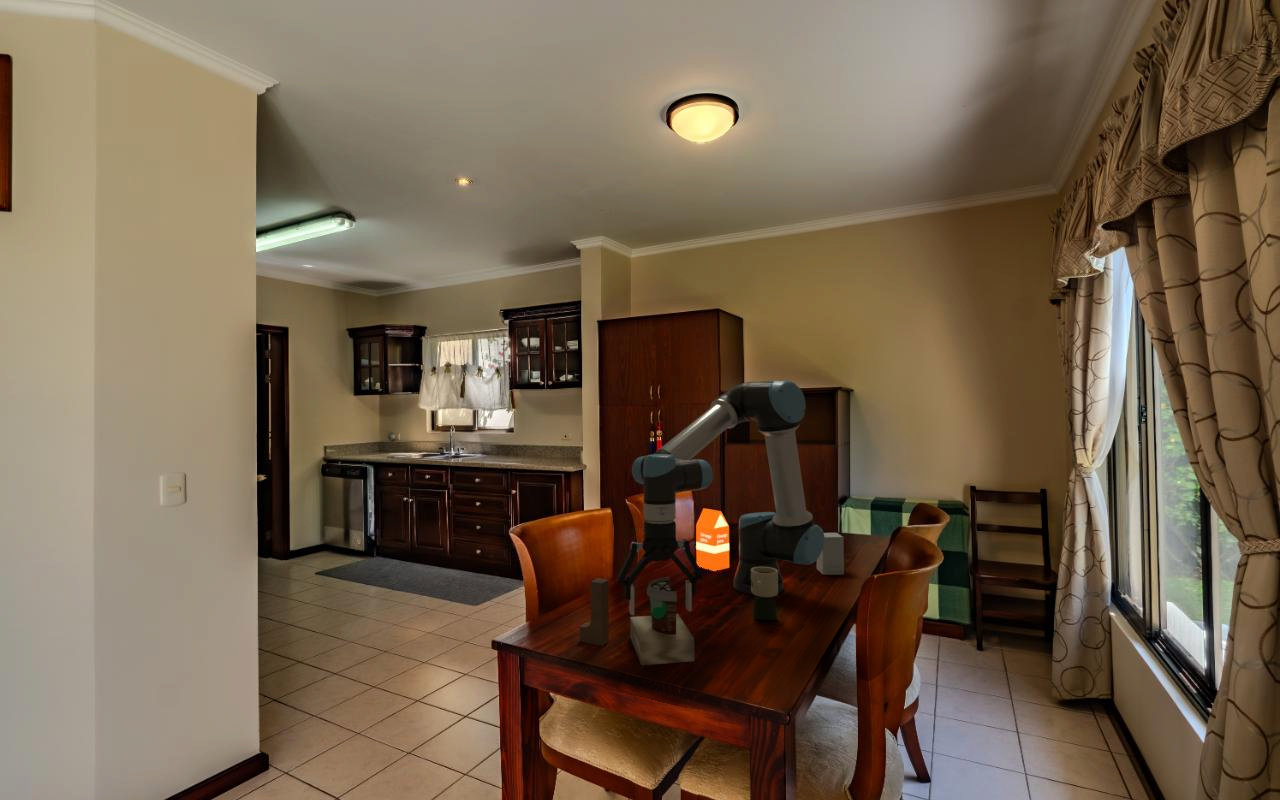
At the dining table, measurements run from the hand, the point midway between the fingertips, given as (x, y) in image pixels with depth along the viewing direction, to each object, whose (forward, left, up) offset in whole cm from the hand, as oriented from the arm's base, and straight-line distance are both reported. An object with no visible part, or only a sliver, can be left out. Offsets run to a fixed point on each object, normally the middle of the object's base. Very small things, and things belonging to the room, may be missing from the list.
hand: (660, 611), depth 141 cm
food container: (0, 0, -4) cm, 4 cm away
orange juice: (-32, -66, -9) cm, 74 cm away
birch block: (0, 0, -9) cm, 9 cm away
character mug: (-31, -14, -9) cm, 35 cm away
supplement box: (-69, -52, -9) cm, 87 cm away
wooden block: (+15, -7, -9) cm, 19 cm away
